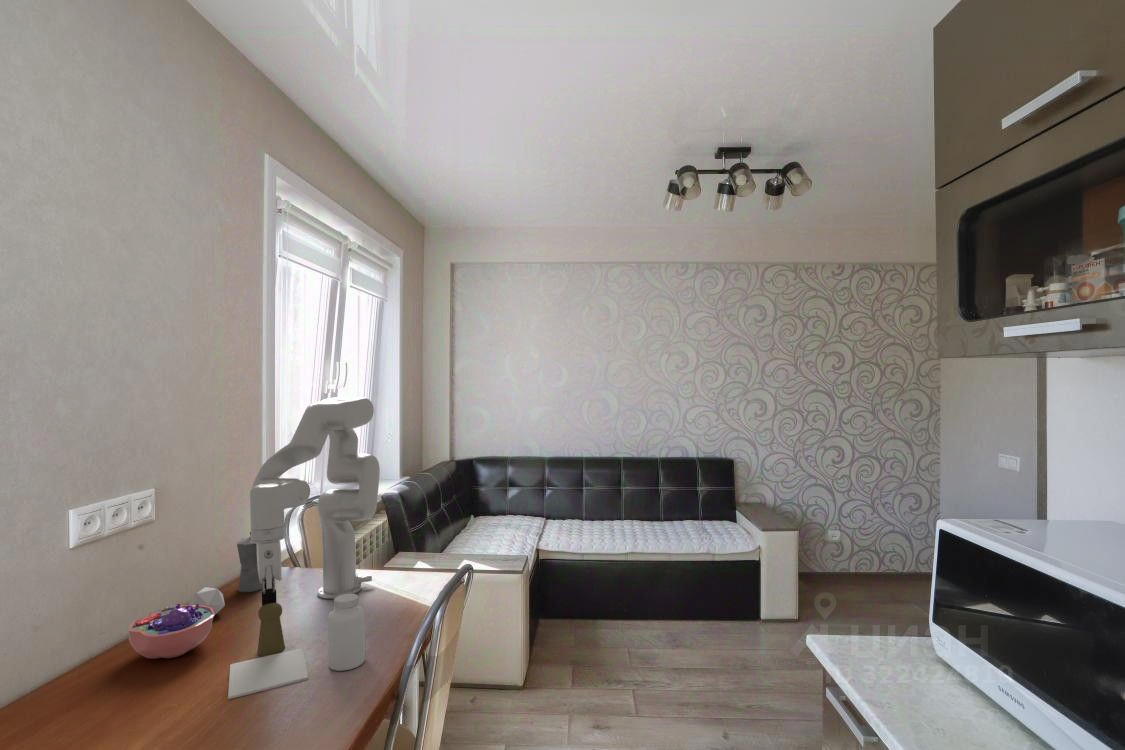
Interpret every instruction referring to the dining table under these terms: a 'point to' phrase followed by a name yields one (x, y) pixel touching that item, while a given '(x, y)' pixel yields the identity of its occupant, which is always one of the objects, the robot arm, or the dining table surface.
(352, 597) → the pill bottle
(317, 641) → the dining table surface
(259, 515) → the robot arm
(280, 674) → the mat
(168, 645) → the cell model
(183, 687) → the dining table surface
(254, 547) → the coffeepot
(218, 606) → the die
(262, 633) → the cork
